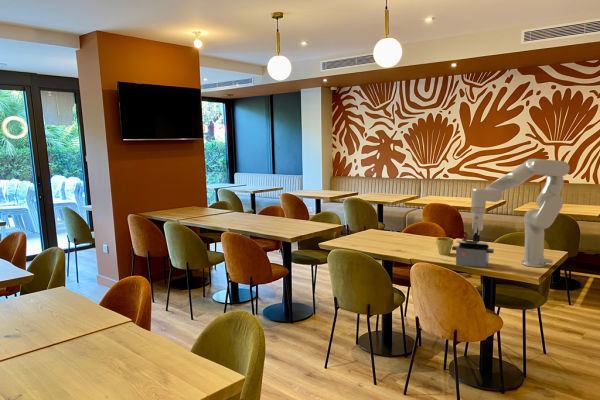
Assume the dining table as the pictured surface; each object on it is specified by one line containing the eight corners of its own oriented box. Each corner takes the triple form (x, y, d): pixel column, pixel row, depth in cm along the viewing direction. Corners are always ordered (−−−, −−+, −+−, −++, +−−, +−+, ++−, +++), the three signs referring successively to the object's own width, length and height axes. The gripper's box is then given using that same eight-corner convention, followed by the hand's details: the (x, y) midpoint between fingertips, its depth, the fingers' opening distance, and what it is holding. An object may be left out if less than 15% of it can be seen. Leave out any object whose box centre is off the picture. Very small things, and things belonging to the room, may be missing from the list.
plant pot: (454, 256, 270) (454, 240, 269) (436, 255, 272) (437, 240, 271) (451, 252, 280) (452, 237, 279) (435, 251, 282) (435, 237, 281)
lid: (488, 246, 251) (489, 240, 252) (486, 244, 239) (486, 238, 240) (459, 243, 259) (460, 238, 259) (456, 241, 247) (456, 236, 248)
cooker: (494, 263, 251) (494, 246, 250) (491, 268, 240) (492, 251, 239) (454, 259, 262) (454, 243, 260) (450, 264, 251) (450, 247, 250)
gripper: (483, 212, 237) (481, 245, 239) (486, 208, 250) (484, 240, 252) (469, 211, 240) (467, 243, 242) (472, 207, 253) (471, 238, 255)
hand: (476, 241), depth 247 cm, fingers closed
